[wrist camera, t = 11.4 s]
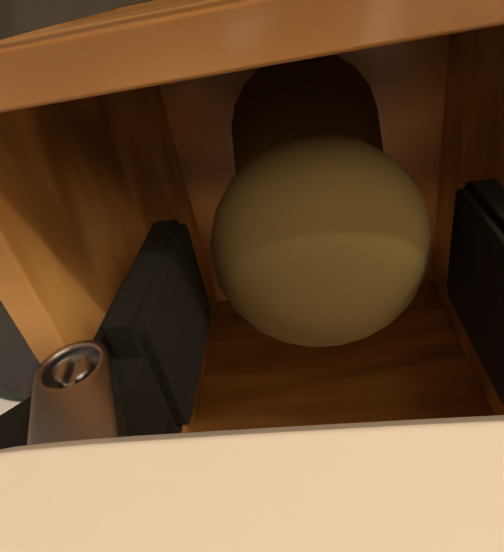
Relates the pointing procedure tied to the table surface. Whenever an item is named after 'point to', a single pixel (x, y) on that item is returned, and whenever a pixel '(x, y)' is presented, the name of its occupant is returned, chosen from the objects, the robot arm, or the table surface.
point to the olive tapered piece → (317, 210)
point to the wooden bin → (221, 169)
